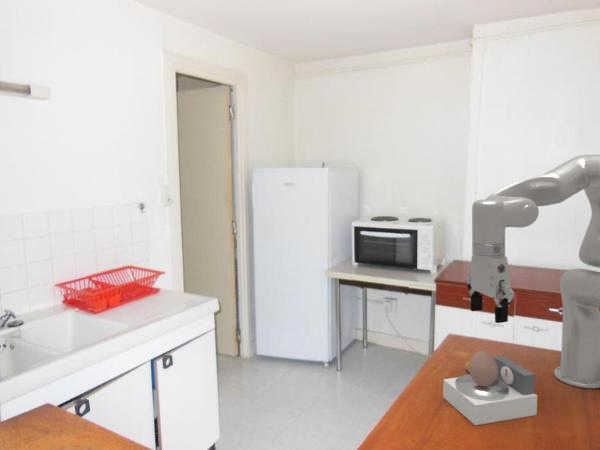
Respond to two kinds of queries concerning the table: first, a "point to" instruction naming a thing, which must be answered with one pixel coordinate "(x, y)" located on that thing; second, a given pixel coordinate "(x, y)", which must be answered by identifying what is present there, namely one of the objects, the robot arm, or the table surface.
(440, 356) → the table surface
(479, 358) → the egg
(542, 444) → the table surface
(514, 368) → the kitchen scale
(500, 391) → the scale pan
